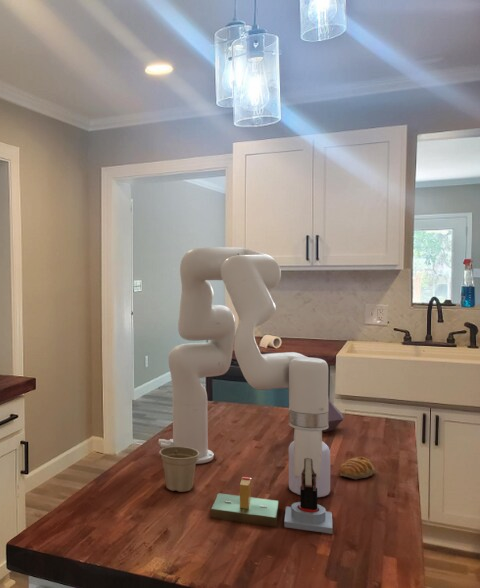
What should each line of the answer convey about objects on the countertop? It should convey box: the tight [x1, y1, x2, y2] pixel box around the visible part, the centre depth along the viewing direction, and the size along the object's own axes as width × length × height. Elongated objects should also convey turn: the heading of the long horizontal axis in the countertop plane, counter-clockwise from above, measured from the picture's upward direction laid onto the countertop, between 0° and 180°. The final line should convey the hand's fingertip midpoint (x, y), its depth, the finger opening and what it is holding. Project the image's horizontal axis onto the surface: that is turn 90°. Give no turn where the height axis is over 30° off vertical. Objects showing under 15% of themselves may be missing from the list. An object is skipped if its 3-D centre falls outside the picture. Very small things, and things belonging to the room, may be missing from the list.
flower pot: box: [159, 446, 199, 493], centre depth 138 cm, size 9×9×9 cm
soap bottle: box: [288, 440, 331, 498], centre depth 135 cm, size 9×9×25 cm
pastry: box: [338, 456, 376, 480], centre depth 145 cm, size 9×7×4 cm
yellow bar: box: [239, 476, 252, 509], centre depth 123 cm, size 4×2×5 cm, turn 158°
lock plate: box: [210, 492, 280, 528], centre depth 123 cm, size 13×9×2 cm
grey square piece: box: [283, 501, 334, 535], centre depth 118 cm, size 9×8×3 cm
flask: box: [322, 398, 344, 433], centre depth 187 cm, size 16×16×20 cm
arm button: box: [299, 505, 318, 512], centre depth 118 cm, size 4×4×2 cm
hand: (308, 507), depth 118 cm, fingers closed
